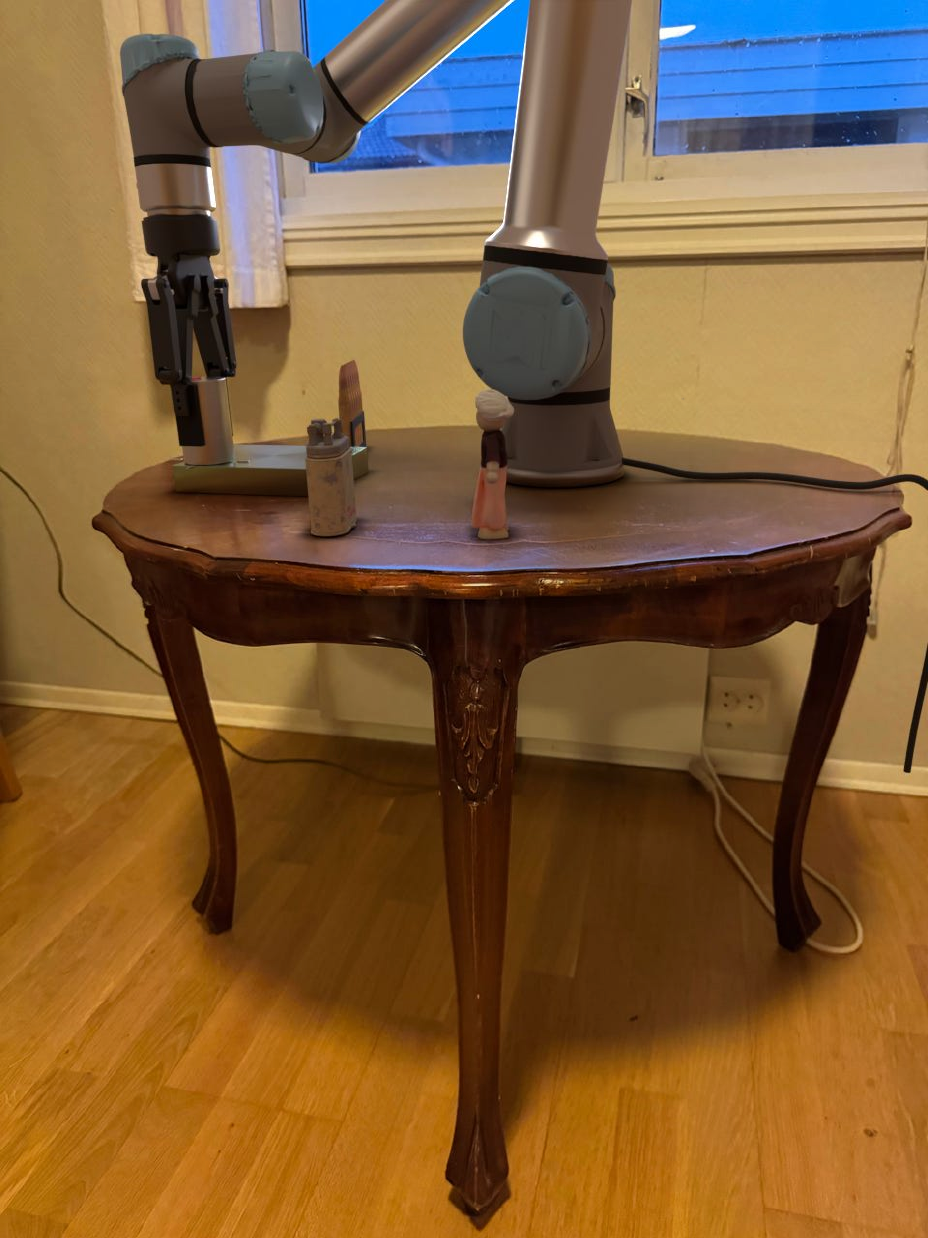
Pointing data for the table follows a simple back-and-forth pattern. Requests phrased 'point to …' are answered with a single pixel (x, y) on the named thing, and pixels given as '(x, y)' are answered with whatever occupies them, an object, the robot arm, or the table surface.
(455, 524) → the table surface
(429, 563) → the table surface
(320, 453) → the lighter
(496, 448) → the grandmother figurine
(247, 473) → the panel
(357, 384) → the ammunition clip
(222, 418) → the grey metal cylinder
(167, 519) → the table surface
